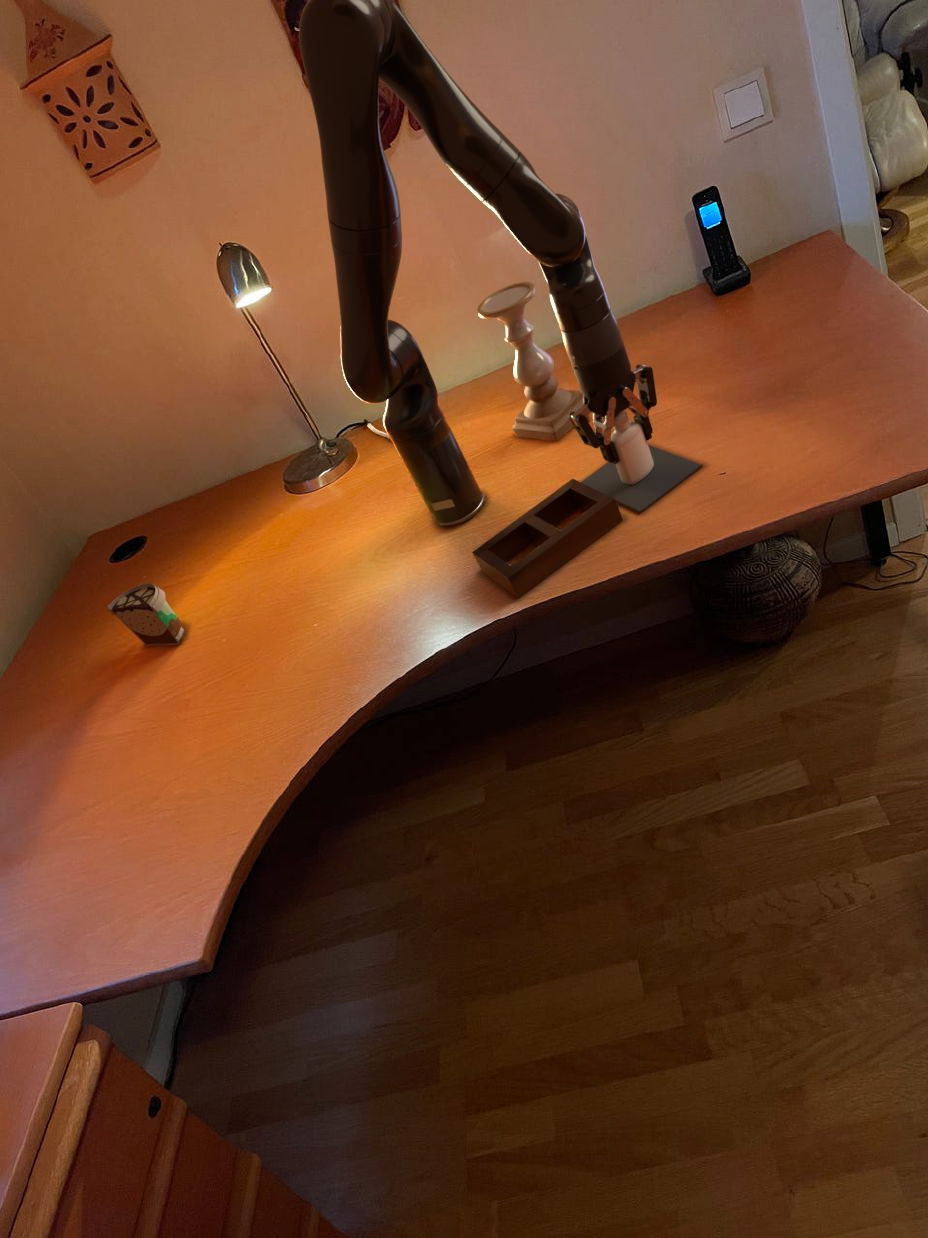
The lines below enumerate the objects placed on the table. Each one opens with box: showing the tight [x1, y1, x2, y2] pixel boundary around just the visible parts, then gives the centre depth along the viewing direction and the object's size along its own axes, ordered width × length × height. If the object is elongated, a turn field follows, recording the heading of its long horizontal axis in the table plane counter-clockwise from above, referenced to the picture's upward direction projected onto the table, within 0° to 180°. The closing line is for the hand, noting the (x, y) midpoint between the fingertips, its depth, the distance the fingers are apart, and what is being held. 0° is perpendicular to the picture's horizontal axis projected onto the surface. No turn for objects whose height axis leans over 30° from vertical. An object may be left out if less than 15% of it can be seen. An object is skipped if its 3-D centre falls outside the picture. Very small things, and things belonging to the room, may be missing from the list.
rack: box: [471, 478, 624, 600], centre depth 121 cm, size 11×19×4 cm, turn 118°
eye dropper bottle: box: [611, 410, 654, 485], centre depth 122 cm, size 4×6×12 cm
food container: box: [107, 582, 187, 646], centre depth 148 cm, size 12×6×10 cm, turn 65°
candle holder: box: [476, 281, 584, 442], centre depth 143 cm, size 11×11×24 cm
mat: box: [580, 444, 703, 514], centre depth 126 cm, size 15×12×1 cm
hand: (629, 449), depth 123 cm, fingers closed on eye dropper bottle, 5 cm apart
